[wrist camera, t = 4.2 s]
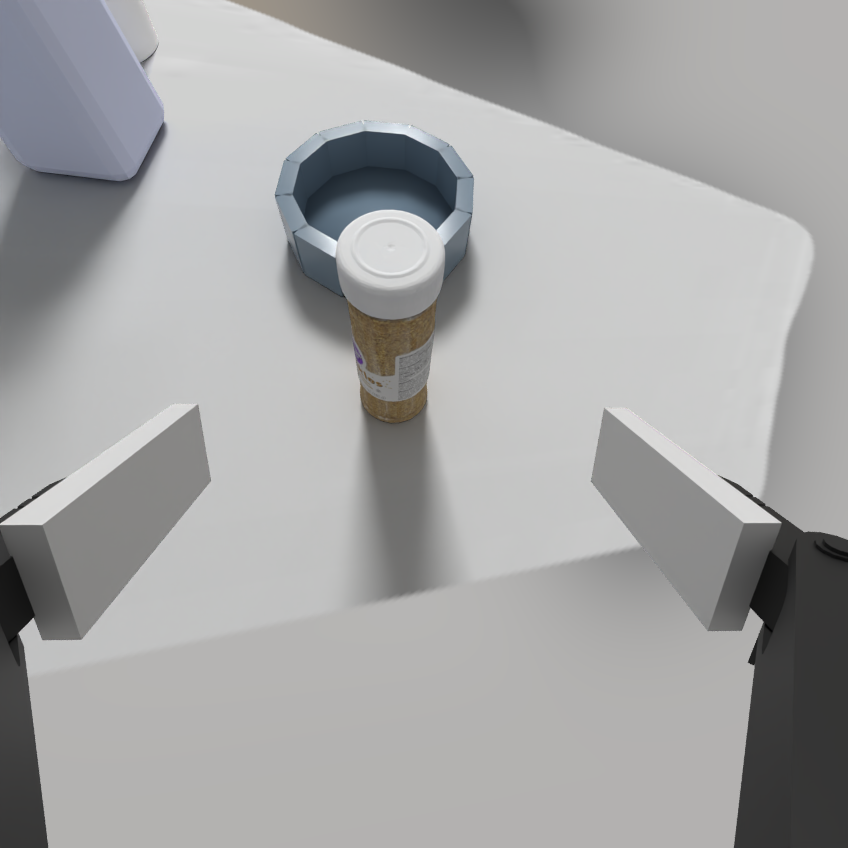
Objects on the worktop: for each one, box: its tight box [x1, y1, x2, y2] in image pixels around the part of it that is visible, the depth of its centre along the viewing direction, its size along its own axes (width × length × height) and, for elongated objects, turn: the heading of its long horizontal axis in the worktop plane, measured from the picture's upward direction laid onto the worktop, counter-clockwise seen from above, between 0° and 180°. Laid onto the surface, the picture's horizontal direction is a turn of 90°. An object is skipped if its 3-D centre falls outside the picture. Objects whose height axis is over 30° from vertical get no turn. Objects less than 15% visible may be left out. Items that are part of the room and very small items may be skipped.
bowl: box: [275, 120, 474, 298], centre depth 35 cm, size 14×14×4 cm
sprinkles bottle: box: [336, 210, 445, 423], centre depth 24 cm, size 5×5×14 cm
